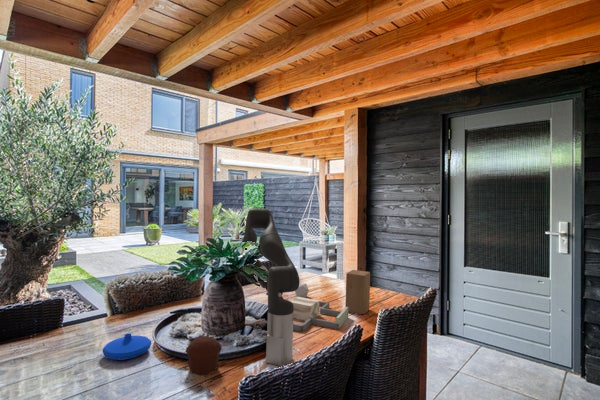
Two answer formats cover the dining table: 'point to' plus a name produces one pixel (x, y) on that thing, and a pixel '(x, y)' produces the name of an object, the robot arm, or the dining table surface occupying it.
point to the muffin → (203, 355)
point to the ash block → (305, 308)
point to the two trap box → (323, 310)
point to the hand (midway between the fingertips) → (284, 303)
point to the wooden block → (357, 291)
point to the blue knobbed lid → (126, 347)
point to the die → (302, 290)
